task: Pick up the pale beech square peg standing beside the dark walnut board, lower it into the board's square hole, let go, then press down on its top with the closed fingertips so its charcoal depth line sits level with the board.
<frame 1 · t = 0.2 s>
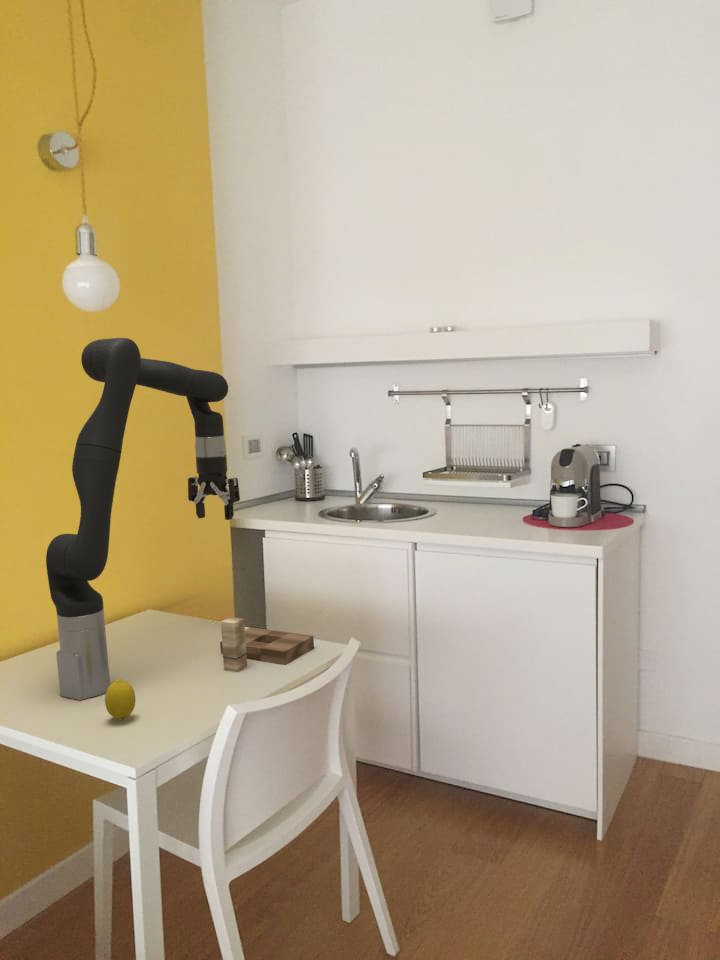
hand: (215, 518, 207), 29 cm above the table, tool pointing down, fingers open, 8 cm apart
lemon: (122, 720, 157), on the table
walnut board: (267, 651, 193), on the table
beech peg: (235, 668, 182), on the table
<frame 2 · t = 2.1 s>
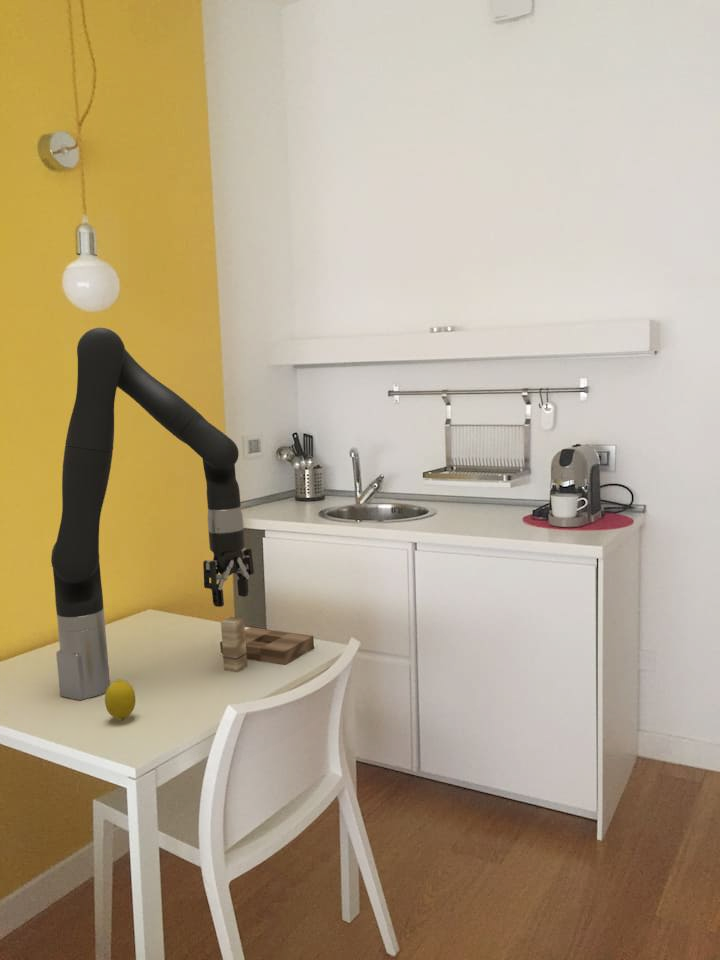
hand: (231, 601, 180), 15 cm above the table, tool pointing down, fingers open, 8 cm apart
nothing on the table moved.
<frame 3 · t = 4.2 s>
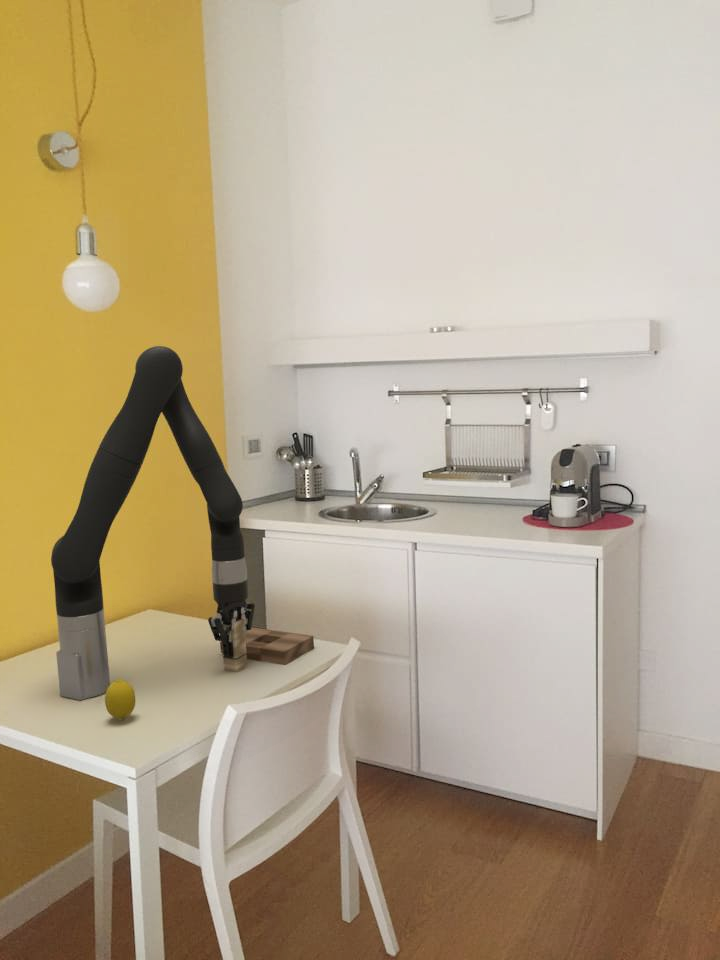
hand: (235, 654, 182), 3 cm above the table, tool pointing down, fingers closed on beech peg, 3 cm apart
beech peg: (235, 668, 182), on the table, touching gripper
everything else where it was.
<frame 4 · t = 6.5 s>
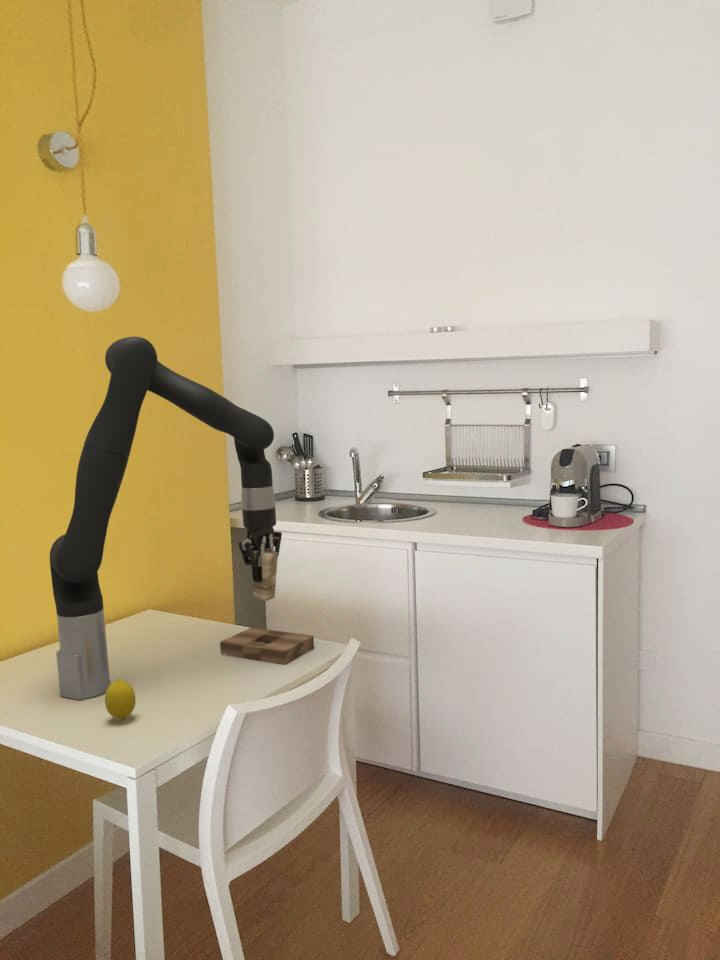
hand: (263, 579, 190), 17 cm above the table, tool pointing down, fingers closed on beech peg, 3 cm apart
beech peg: (263, 597, 191), point 13 cm above the table, tilted 9°, touching gripper
everything else where it was.
when the fingers open (5 cm above the table, at t = 9.1 s): beech peg stays where it is, resting in walnut board.
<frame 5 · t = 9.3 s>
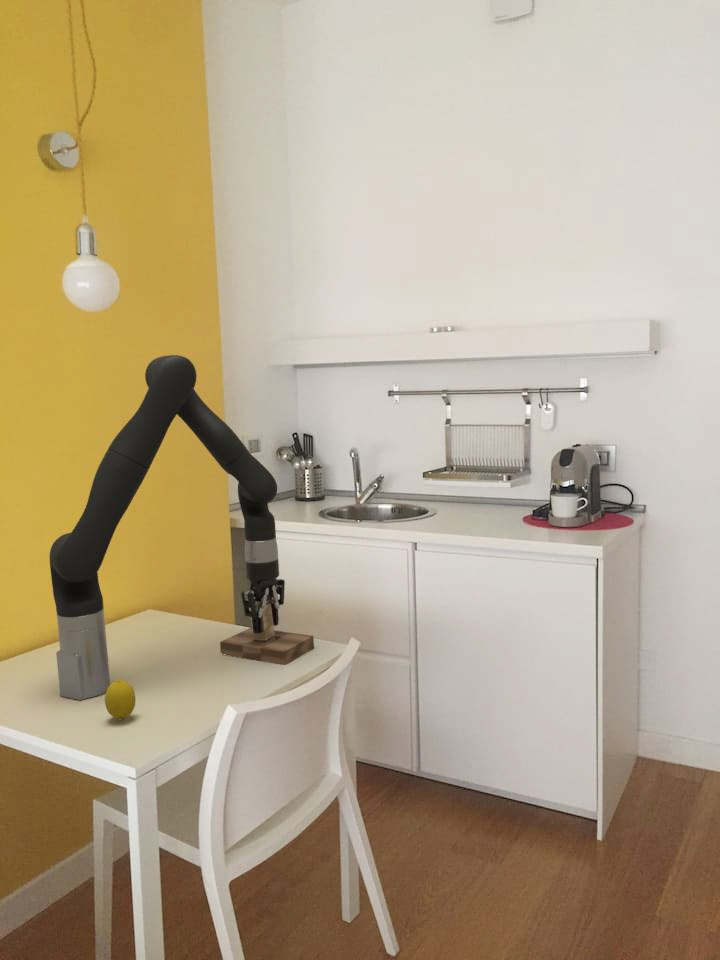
hand: (266, 628, 192), 6 cm above the table, tool pointing down, fingers open, 5 cm apart
beech peg: (265, 650, 193), resting in walnut board
everything else where it was.
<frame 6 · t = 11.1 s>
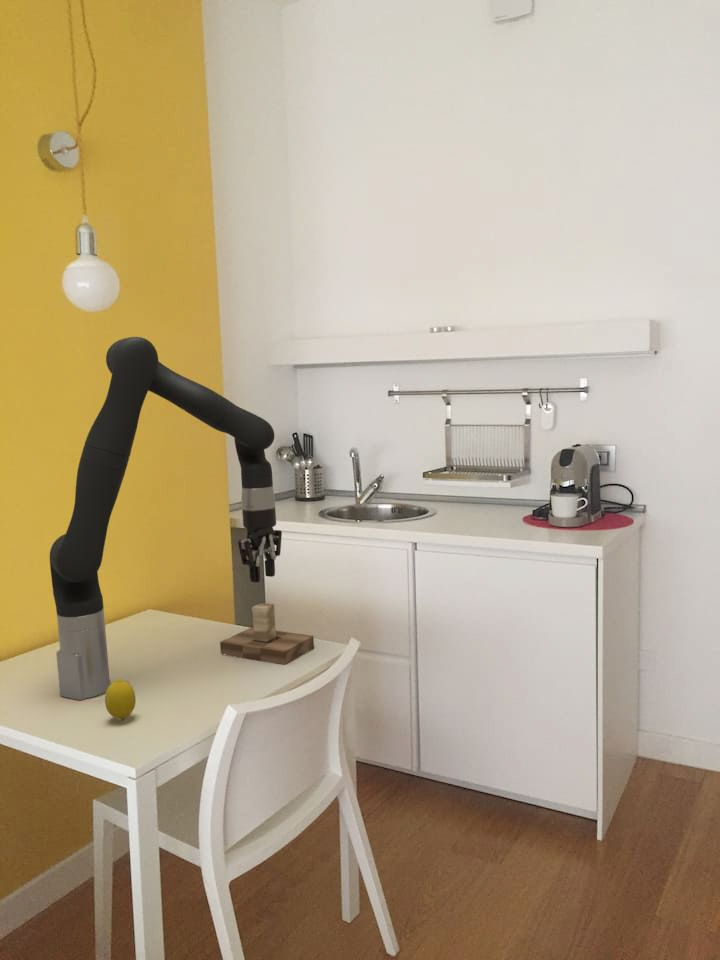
hand: (263, 578, 190), 17 cm above the table, tool pointing down, fingers open, 5 cm apart
nothing on the table moved.
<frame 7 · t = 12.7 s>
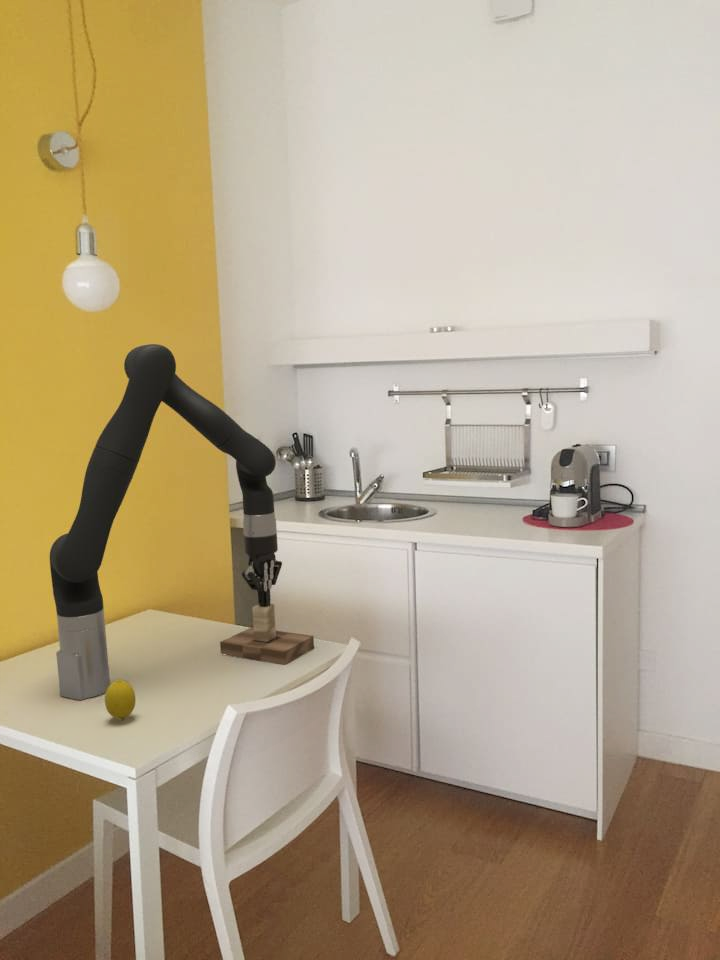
hand: (264, 605, 191), 11 cm above the table, tool pointing down, fingers closed
beech peg: (266, 651, 193), resting in walnut board, touching gripper
everything else where it was.
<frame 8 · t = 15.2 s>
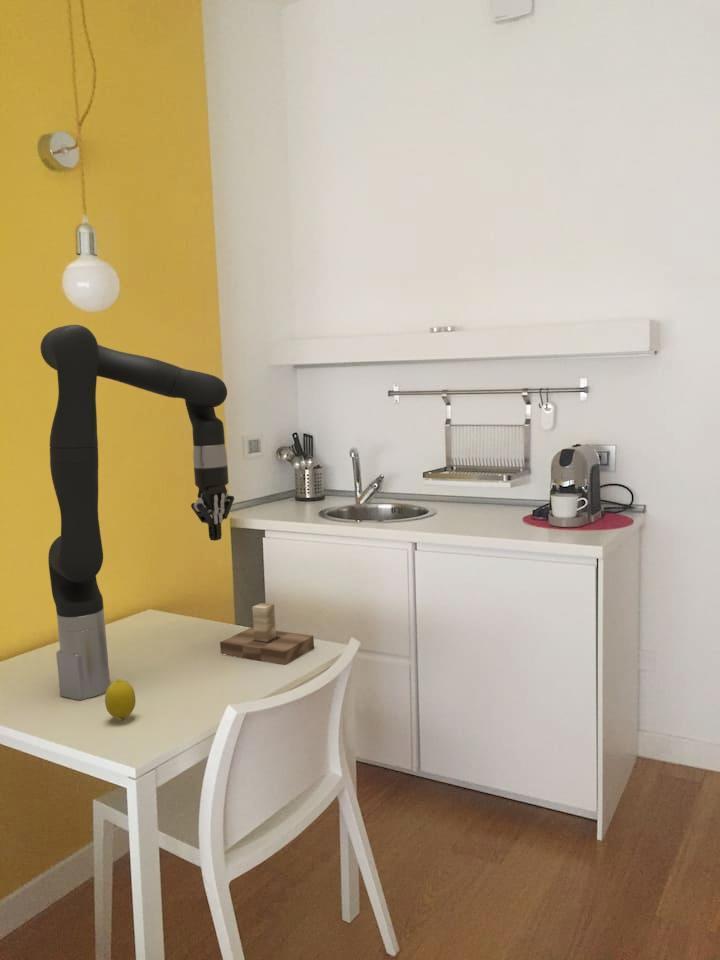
hand: (215, 539, 189), 27 cm above the table, tool pointing down, fingers closed
beech peg: (266, 651, 193), resting in walnut board
everything else where it was.
at the end: beech peg 0.4 cm off-centre on the walnut board, point 0.0 cm above the walnut board's base; beech peg tilted 0°; the gripper is holding nothing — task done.
